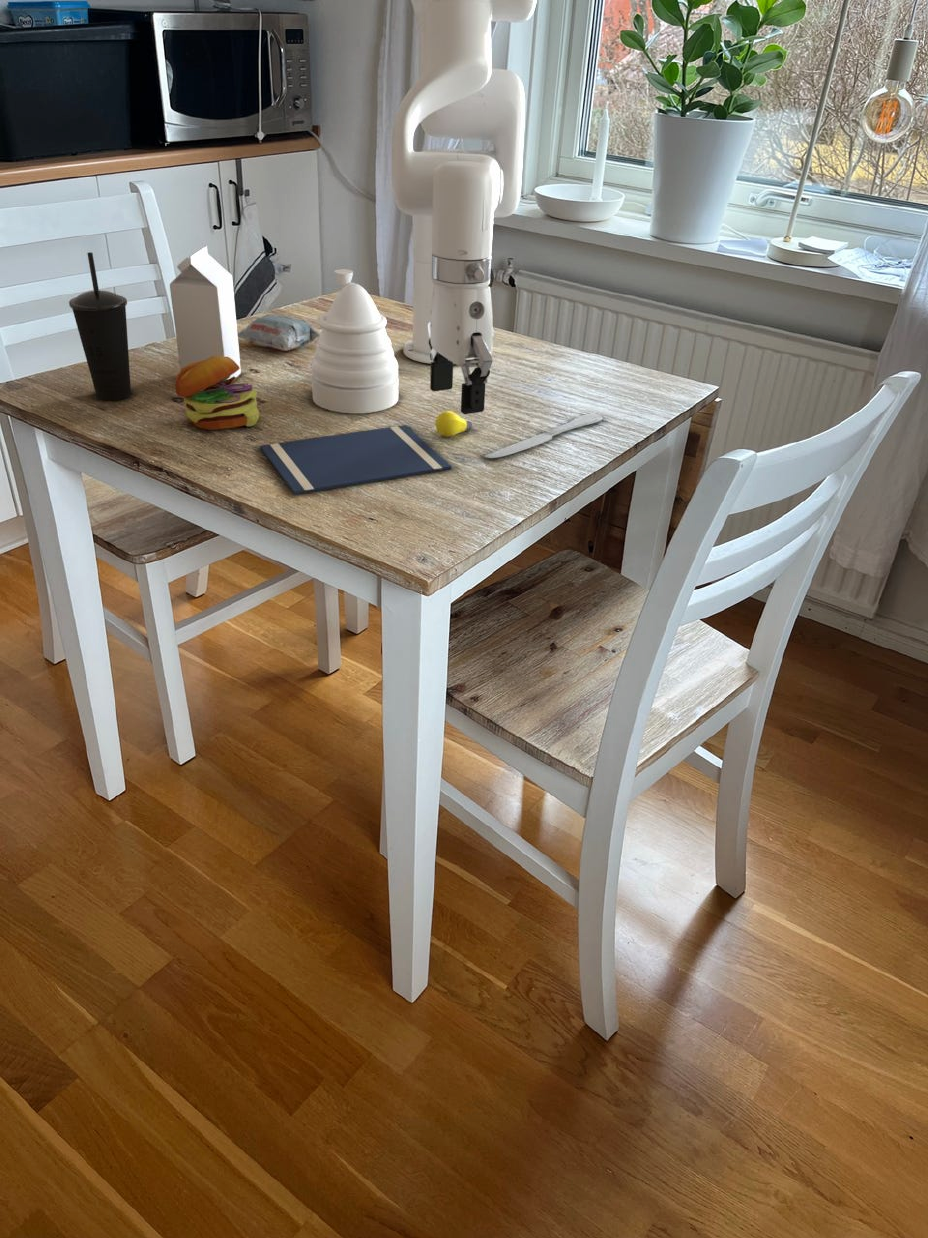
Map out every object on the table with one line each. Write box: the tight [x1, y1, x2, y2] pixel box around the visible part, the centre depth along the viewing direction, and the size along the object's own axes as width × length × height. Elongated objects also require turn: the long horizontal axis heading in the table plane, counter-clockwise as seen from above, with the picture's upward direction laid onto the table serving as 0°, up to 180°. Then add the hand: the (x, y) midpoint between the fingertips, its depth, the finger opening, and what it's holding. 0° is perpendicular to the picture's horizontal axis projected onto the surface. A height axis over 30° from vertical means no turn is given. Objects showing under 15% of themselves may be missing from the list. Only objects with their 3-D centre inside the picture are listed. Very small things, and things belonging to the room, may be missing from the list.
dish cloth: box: [259, 424, 452, 496], centre depth 123 cm, size 21×15×1 cm
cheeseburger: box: [174, 356, 260, 431], centre depth 130 cm, size 10×11×10 cm
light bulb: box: [435, 410, 474, 438], centre depth 131 cm, size 3×6×4 cm, turn 124°
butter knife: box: [483, 412, 603, 459], centre depth 132 cm, size 1×24×3 cm
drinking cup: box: [68, 251, 132, 402], centre depth 133 cm, size 8×8×20 cm
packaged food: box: [237, 314, 321, 352], centre depth 159 cm, size 9×12×5 cm
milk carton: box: [169, 245, 242, 380], centre depth 141 cm, size 7×7×19 cm
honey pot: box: [310, 268, 399, 414], centre depth 137 cm, size 13×13×18 cm
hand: (456, 400), depth 129 cm, fingers open, 9 cm apart
